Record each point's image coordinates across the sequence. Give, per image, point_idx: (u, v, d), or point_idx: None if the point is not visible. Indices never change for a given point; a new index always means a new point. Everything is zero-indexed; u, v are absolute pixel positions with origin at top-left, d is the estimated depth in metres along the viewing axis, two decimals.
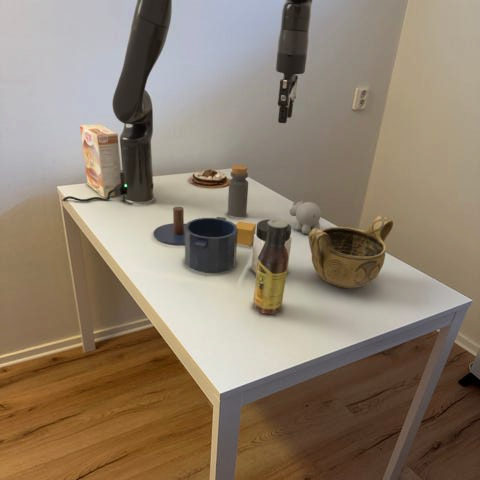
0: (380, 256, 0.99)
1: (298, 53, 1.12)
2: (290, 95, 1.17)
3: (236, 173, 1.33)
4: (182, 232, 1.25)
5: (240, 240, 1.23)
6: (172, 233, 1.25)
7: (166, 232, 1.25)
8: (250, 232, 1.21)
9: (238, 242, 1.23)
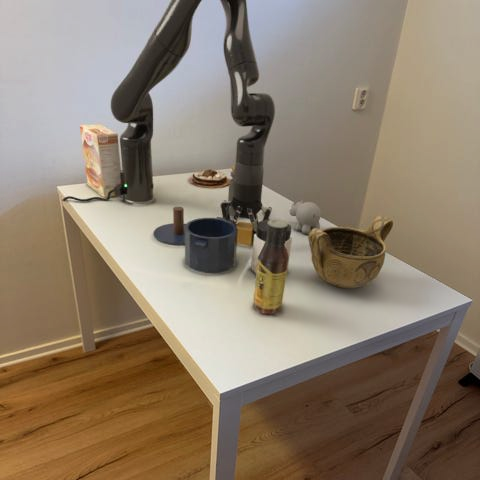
0: (380, 256, 0.99)
1: (234, 180, 1.15)
2: (233, 217, 1.21)
3: None
4: (182, 232, 1.25)
5: (240, 240, 1.23)
6: (172, 233, 1.25)
7: (166, 232, 1.25)
8: (250, 232, 1.21)
9: (238, 242, 1.23)
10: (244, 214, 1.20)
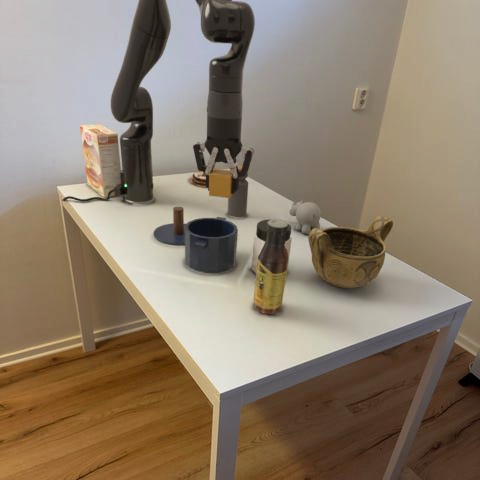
0: (380, 256, 0.99)
1: (207, 114, 0.96)
2: None
3: None
4: (182, 232, 1.25)
5: (217, 190, 1.04)
6: (172, 233, 1.25)
7: (166, 232, 1.25)
8: (228, 179, 1.02)
9: (215, 192, 1.05)
10: (221, 157, 1.01)
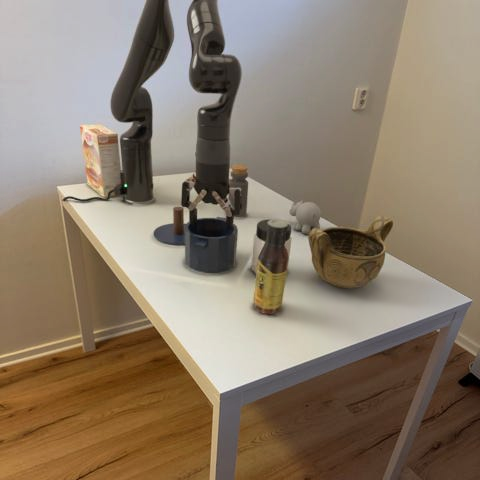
0: (380, 256, 0.99)
1: (196, 159, 0.99)
2: None
3: (236, 173, 1.33)
4: (182, 232, 1.25)
5: None
6: (172, 233, 1.25)
7: (166, 232, 1.25)
8: None
9: None
10: (209, 199, 1.04)
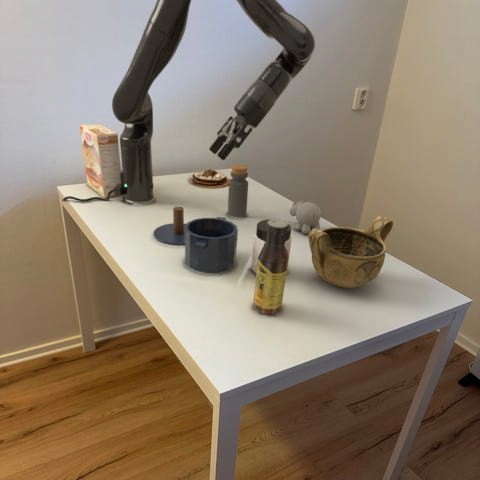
0: (380, 256, 0.99)
1: (265, 110, 1.14)
2: (240, 139, 1.15)
3: (236, 173, 1.33)
4: (182, 232, 1.25)
5: None
6: (172, 233, 1.25)
7: (166, 232, 1.25)
8: None
9: None
10: None
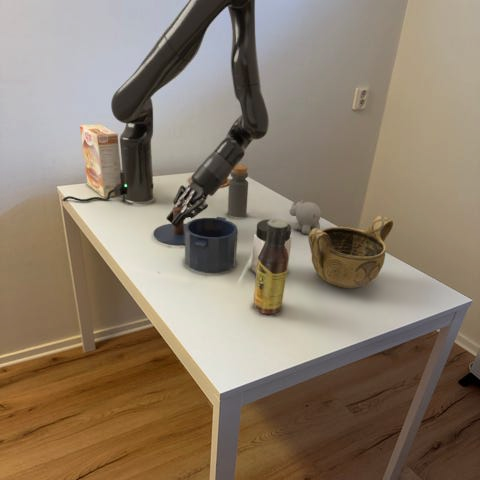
0: (380, 256, 0.99)
1: (222, 182, 1.21)
2: None
3: (236, 173, 1.33)
4: (182, 232, 1.25)
5: None
6: (172, 233, 1.25)
7: (166, 232, 1.25)
8: None
9: None
10: None
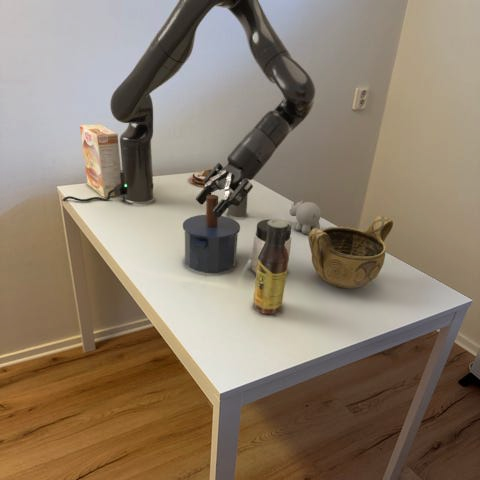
0: (380, 256, 0.99)
1: (263, 164, 1.04)
2: (236, 194, 1.03)
3: None
4: (216, 224, 1.08)
5: None
6: (204, 226, 1.08)
7: (197, 224, 1.08)
8: None
9: None
10: None
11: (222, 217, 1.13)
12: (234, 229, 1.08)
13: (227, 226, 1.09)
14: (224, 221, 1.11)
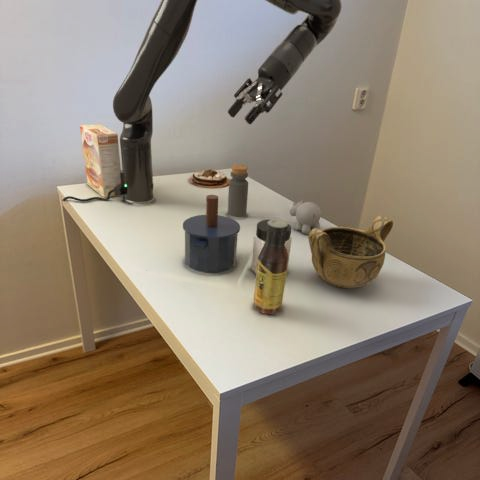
0: (380, 256, 0.99)
1: (291, 75, 1.12)
2: (266, 103, 1.12)
3: (236, 173, 1.33)
4: (216, 224, 1.08)
5: None
6: (204, 226, 1.08)
7: (197, 224, 1.08)
8: None
9: None
10: None
11: (222, 217, 1.13)
12: (234, 229, 1.08)
13: (227, 226, 1.09)
14: (224, 221, 1.11)
